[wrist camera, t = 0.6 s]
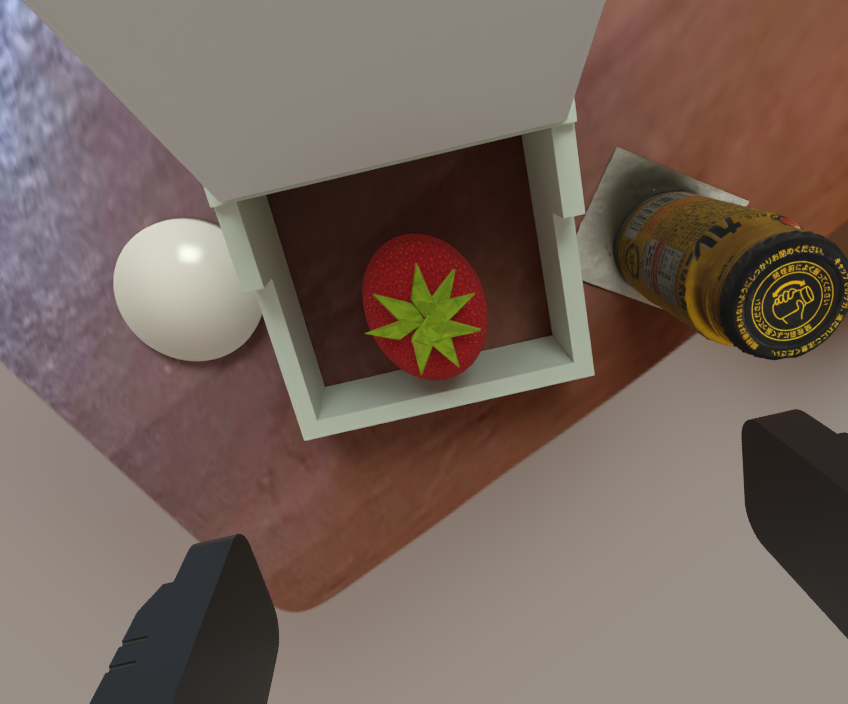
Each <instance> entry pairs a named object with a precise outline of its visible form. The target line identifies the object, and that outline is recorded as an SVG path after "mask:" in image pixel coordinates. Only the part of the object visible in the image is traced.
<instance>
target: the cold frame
mask: <svg viewBox="0 0 848 704" xmlns="http://www.w3.org/2000/svg"><path fill="white" fill-rule="evenodd" d="M23 1H24V3H25V4H26V5H27V6H28V7H29V8H30V9H31V10H32V11H33V12H34V13H35V14H36V15H37V16H38V17H39V18H40V19H41V20H42V21H43V22H44V23H45V24H46V25H47V26H48V27H49V28H50V29H51V30H52V31H53V32H54V33H55V34H56V35H57V36H58V37H59V38H60V39H61V40H62V41H63V42H64V43H65V44H66V46H67V47H68V48H69V49H70V50H71V51H72V52H73V53H74V54H75V55H76V56H77V57H78V58H79V59H80V60H81V61H82V62H83V63H84V64H85V65H86V66H87V67H88V68H89V69H90V70H91V71H92V72H93V73H94V74H95V75H96V76H97V77H98V78H99V79H100V80H101V81H102V82H103V83H104V84H105V85H106V86H107V88H108V89H109V90H110V91H111V92H112V93H113V94H114V95H115V96H116V97H117V98H118V99H119V100H120V101H121V102H122V103H123V104H124V105H125V106H126V107H127V108H128V109H129V110H130V111H131V112H132V113H133V114H134V115H135V116H136V117H137V118H138V119H139V120H140V121H141V122H142V123H143V124H144V125H145V126H146V127H147V128H148V129H149V131H150V132H151V133H152V134H153V135H154V136H155V137H156V138H157V139H158V140H159V141H160V142H161V143H162V144H163V145H164V146H165V147H166V148H167V149H168V150H169V151H170V152H171V153H172V154H173V155H174V156H175V157H176V158H177V159H178V160H179V161H180V162H181V163H182V164H183V165H184V166H185V167H186V168H187V169H188V170H189V171H190V172H191V174H192V175H193V176H194V177H195V178H196V179H197V180H198V181H199V182H200V183H201V184H202V185H203V187H204V190H205V193H206V196H207V199H208V202H209V205H210V208H212V207H214V209H215V212H216V215H217V218H218V221H219V224H220V227H221V230H222V233H223V236H224V239H225V241H226V244H227V247H228V250H229V253H230V256H231V259H232V262H233V265H234V268H235V271H236V274H237V277H238V280H239V283H240V286H241V289H242V292H243V293H246V292H250V291H255V294H256V297H257V300H258V303H259V306H260V309H261V312H262V315H263V318H264V321H265V324H266V327H267V330H268V333H269V336H270V339H271V342H272V345H273V348H274V351H275V354H276V357H277V360H278V363H279V366H280V369H281V372H282V375H283V378H284V381H285V384H286V387H287V390H288V393H289V396H290V399H291V402H292V405H293V408H294V411H295V414H296V417H297V420H298V423H299V426H300V429H301V432H302V436H303V439H304V441H306V440H311V439H315V438H320V437H324V436H329V435H333V434H337V433H342V432H346V431H351V430H355V429H360V428H364V427H368V426H373V425H377V424H382V423H386V422H390V421H395V420H399V419H404V418H408V417H413V416H417V415H421V414H426V413H430V412H435V411H439V410H443V409H448V408H452V407H457V406H461V405H466V404H470V403H474V402H479V401H483V400H488V399H492V398H497V397H501V396H505V395H510V394H514V393H519V392H523V391H527V390H532V389H536V388H541V387H545V386H550V385H554V384H558V383H563V382H567V381H572V380H576V379H580V378H585V377H589V376H594V375H595V373H594V366H593V358H592V350H591V343H590V335H589V328H588V320H587V312H586V305H585V297H584V290H583V282H582V274H581V267H580V259H579V252H578V244H577V236H576V229H575V221H574V216H578V215H582V214H585V207H584V199H583V190H582V182H581V174H580V166H579V158H578V150H577V142H576V134H575V126H574V122H577V115H576V107H575V99H574V96H575V93H576V90H577V87H578V84H579V81H580V78H581V74H582V71H583V68H584V65H585V62H586V59H587V56H588V53H589V50H590V47H591V44H592V41H593V38H594V35H595V32H596V28H597V25H598V22H599V19H600V16H601V13H602V10H603V7H604V4H605V1H606V0H23ZM518 135H521V136H522V142H523V148H524V155H525V161H526V168H527V174H528V181H529V187H530V194H531V200H532V207H533V213H534V220H535V226H536V232H537V239H538V245H539V252H540V258H541V265H542V271H543V278H544V284H545V291H546V297H547V304H548V310H549V317H550V323H551V329H552V335H551V336H546V337H542V338H538V339H533V340H529V341H524V342H520V343H516V344H511V345H507V346H503V347H498V348H494V349H489V350H485V351H481V352H480V354H479V356H478V357H477V359H476V360H475V361H474V363H473V364H472V365H471V366H470V367H469V368H468V369H467V370H466V371H464V372H463V373H461V374H459V375H457V376H455V377H452V378H449V379H445V380H427V379H421V378H419V377H416V376H413V375H410V374H409V373H407V372H405V371H404V370H397V371H393V372H389V373H384V374H380V375H375V376H371V377H367V378H362V379H358V380H353V381H349V382H345V383H340V384H336V385H332V386H327V387H325V386H324V382H323V379H322V376H321V372H320V369H319V366H318V363H317V359H316V356H315V353H314V350H313V346H312V343H311V340H310V337H309V333H308V330H307V327H306V323H305V320H304V317H303V314H302V310H301V307H300V304H299V301H298V297H297V294H296V291H295V288H294V284H293V281H292V278H291V275H290V271H289V268H288V265H287V261H286V258H285V255H284V252H283V248H282V245H281V242H280V239H279V235H278V232H277V229H276V226H275V222H274V219H273V216H272V212H271V209H270V206H269V203H268V199H267V196H266V195H267V194H271V193H276V192H280V191H284V190H288V189H293V188H297V187H301V186H305V185H310V184H314V183H318V182H322V181H326V180H331V179H335V178H339V177H343V176H348V175H352V174H356V173H360V172H365V171H369V170H373V169H377V168H382V167H386V166H390V165H394V164H399V163H403V162H407V161H411V160H416V159H420V158H424V157H428V156H433V155H437V154H441V153H445V152H450V151H454V150H458V149H462V148H467V147H471V146H475V145H479V144H484V143H488V142H492V141H496V140H501V139H505V138H509V137H513V136H518Z"/></svg>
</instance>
